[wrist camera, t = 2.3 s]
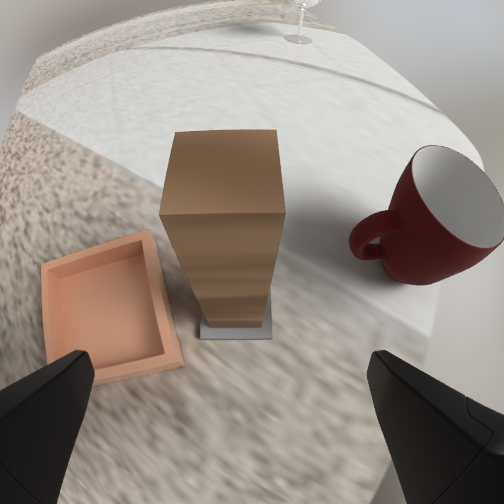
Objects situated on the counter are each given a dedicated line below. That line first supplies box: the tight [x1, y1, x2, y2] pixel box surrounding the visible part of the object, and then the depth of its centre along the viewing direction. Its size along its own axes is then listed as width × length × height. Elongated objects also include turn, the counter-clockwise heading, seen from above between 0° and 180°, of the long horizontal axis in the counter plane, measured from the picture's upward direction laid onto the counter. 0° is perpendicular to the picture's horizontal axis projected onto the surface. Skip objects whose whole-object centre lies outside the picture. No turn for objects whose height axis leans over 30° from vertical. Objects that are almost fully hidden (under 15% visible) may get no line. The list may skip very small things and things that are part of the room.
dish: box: [41, 229, 186, 386], centre depth 20 cm, size 10×10×2 cm
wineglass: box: [285, 0, 322, 44], centre depth 38 cm, size 7×7×12 cm
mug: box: [349, 145, 504, 285], centre depth 19 cm, size 10×8×10 cm
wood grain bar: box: [159, 130, 285, 340], centre depth 15 cm, size 5×5×14 cm
